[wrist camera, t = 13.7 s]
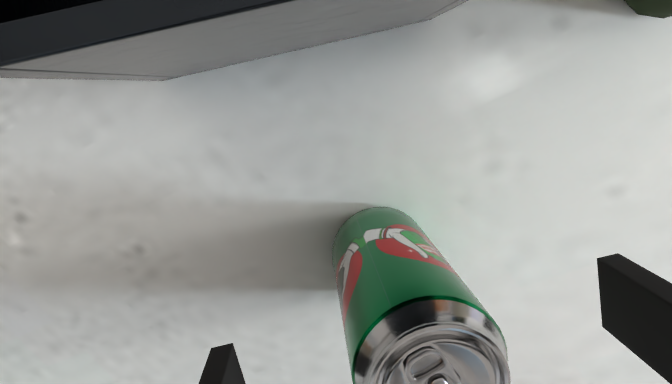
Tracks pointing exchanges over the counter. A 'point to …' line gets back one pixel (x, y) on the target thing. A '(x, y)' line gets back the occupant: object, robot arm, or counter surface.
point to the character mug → (651, 7)
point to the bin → (181, 33)
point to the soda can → (410, 308)
